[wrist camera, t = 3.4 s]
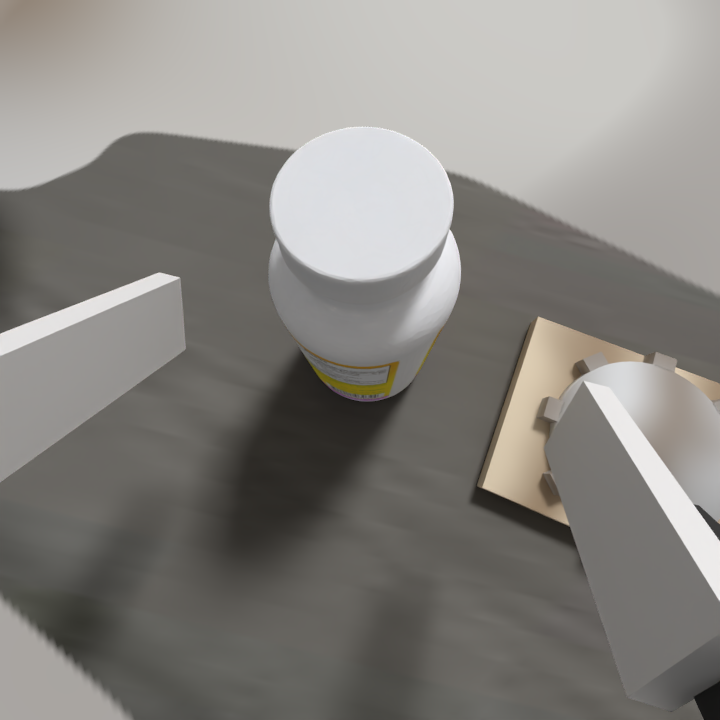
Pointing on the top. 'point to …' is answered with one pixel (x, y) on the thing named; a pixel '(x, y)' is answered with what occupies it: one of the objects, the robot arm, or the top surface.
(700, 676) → the robot arm
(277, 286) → the supplement bottle
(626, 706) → the top surface
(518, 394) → the gear board
